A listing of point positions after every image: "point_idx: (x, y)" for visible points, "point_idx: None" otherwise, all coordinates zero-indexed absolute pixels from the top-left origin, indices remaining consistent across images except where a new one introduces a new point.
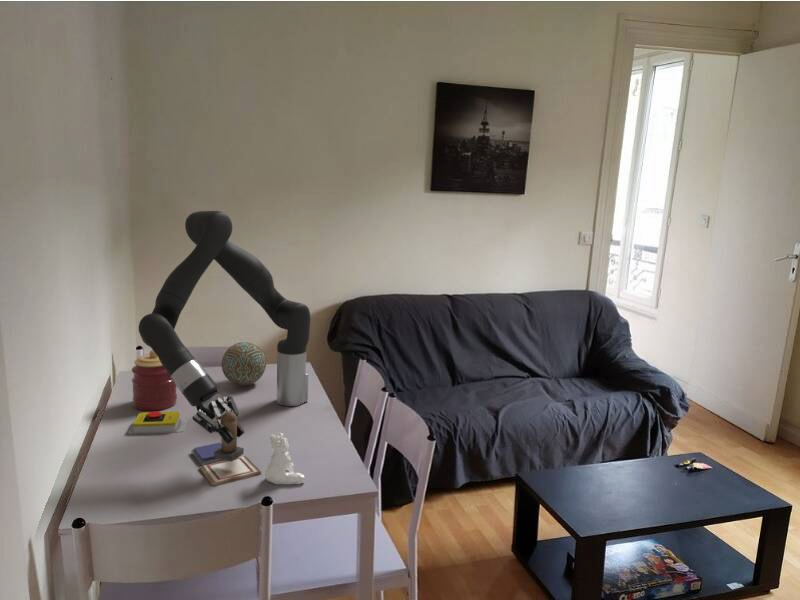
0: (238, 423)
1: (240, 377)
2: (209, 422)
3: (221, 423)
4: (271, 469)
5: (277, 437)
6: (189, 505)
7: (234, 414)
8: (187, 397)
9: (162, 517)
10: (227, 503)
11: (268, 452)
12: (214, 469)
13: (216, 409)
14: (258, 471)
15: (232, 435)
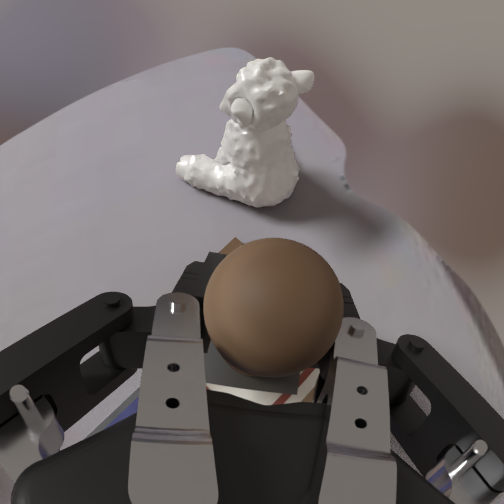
0: (179, 288)
1: None
2: (463, 379)
3: (359, 337)
4: (294, 164)
5: (288, 71)
6: (451, 346)
7: (268, 244)
8: None
9: (496, 368)
10: (414, 261)
11: (84, 274)
12: (272, 394)
13: (352, 429)
14: (235, 245)
15: None
